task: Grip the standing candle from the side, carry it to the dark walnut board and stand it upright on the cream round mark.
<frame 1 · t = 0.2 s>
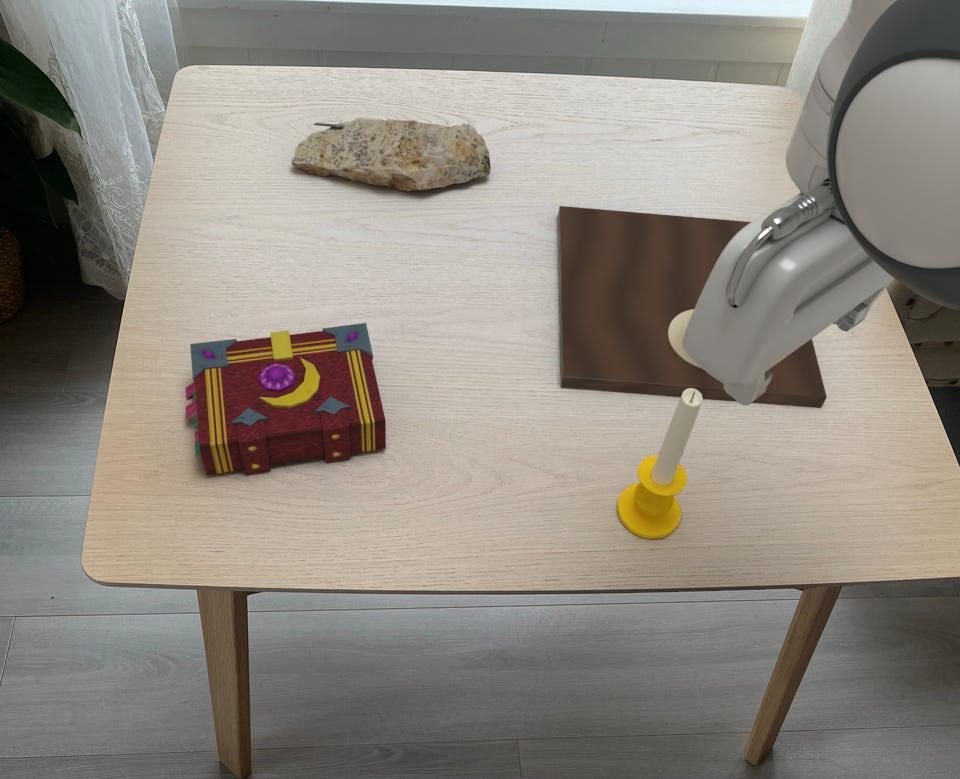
hand: (794, 355, 54), 27 cm above the table, tool pointing down, fingers open, 8 cm apart
board: (679, 304, 94), on the table
decorative book: (284, 417, 82), on the table
candle: (647, 513, 78), on the table
stone: (391, 171, 105), on the table
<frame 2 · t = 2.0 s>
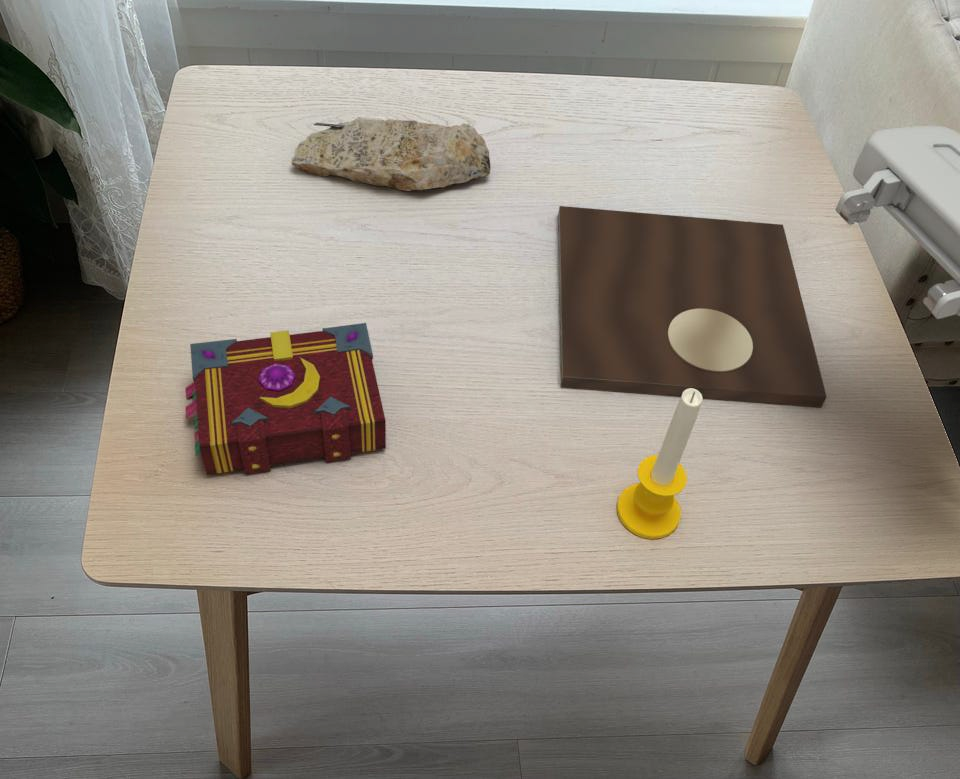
hand: (886, 254, 62), 25 cm above the table, tool horizontal, fingers open, 8 cm apart
nothing on the table moved.
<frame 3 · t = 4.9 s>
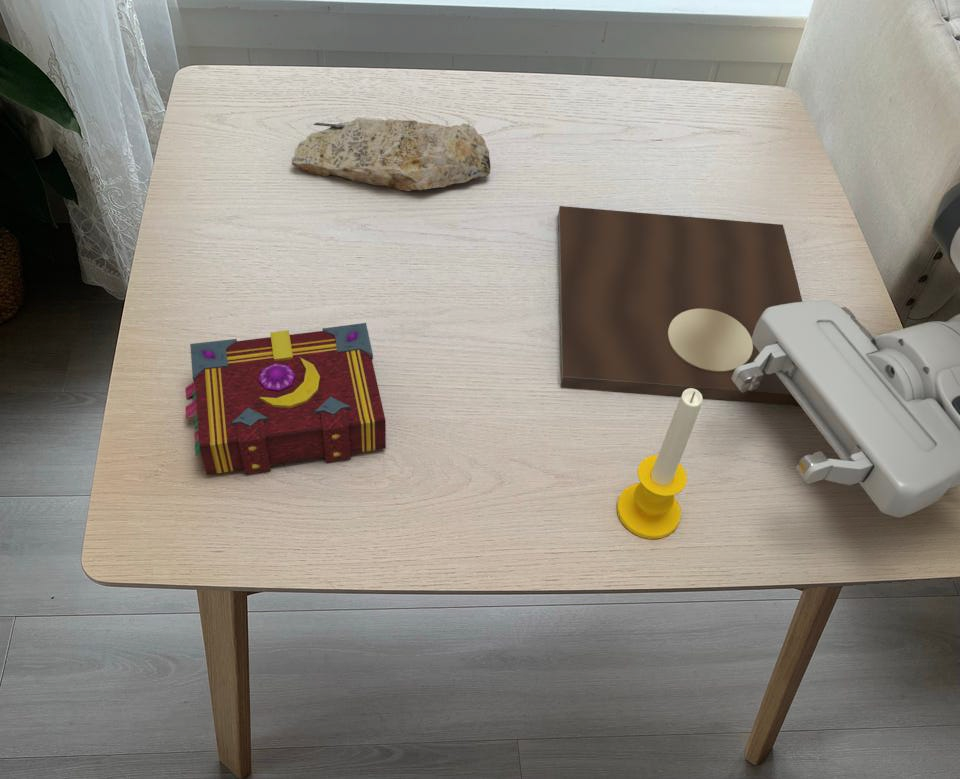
hand: (769, 423, 74), 8 cm above the table, tool horizontal, fingers open, 8 cm apart
nothing on the table moved.
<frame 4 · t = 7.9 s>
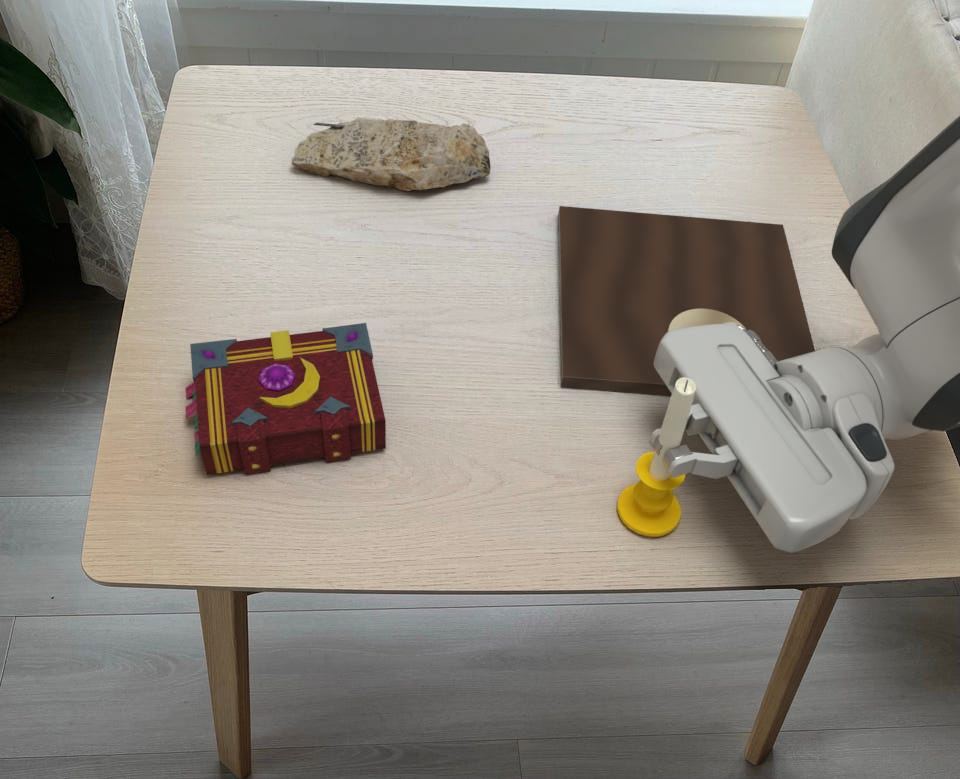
hand: (661, 454, 71), 9 cm above the table, tool horizontal, fingers closed on candle
candle: (648, 512, 78), on the table, touching gripper
everything else where it was.
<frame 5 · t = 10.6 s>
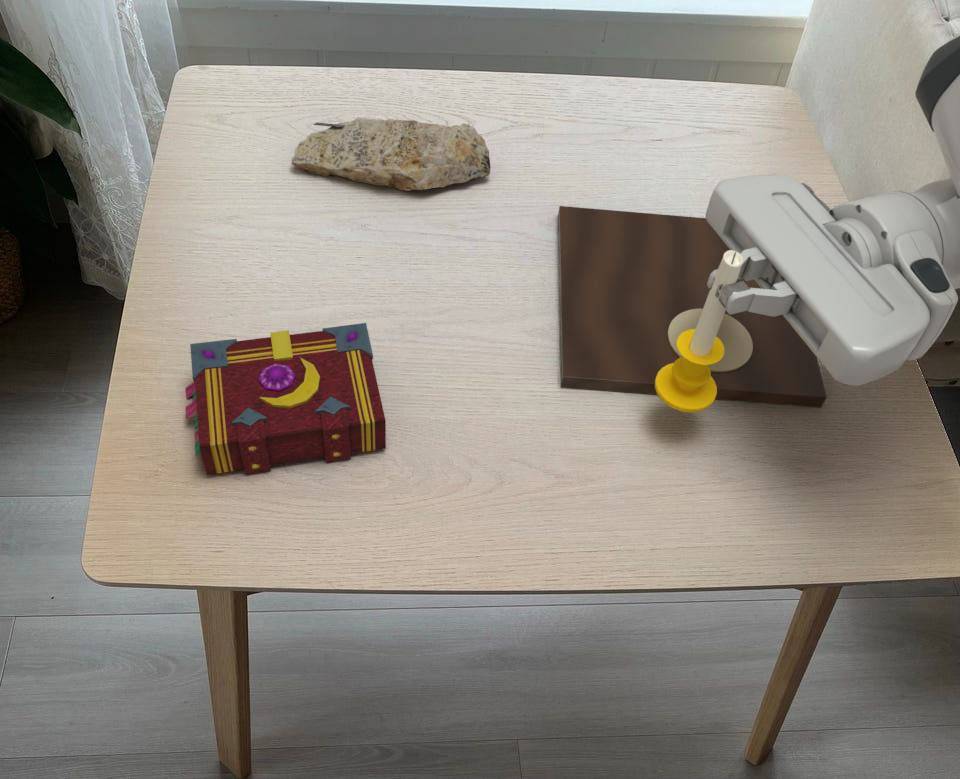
hand: (718, 293, 70), 17 cm above the table, tool horizontal, fingers closed on candle
candle: (684, 390, 81), point 5 cm above the table, touching gripper
everything else where it was.
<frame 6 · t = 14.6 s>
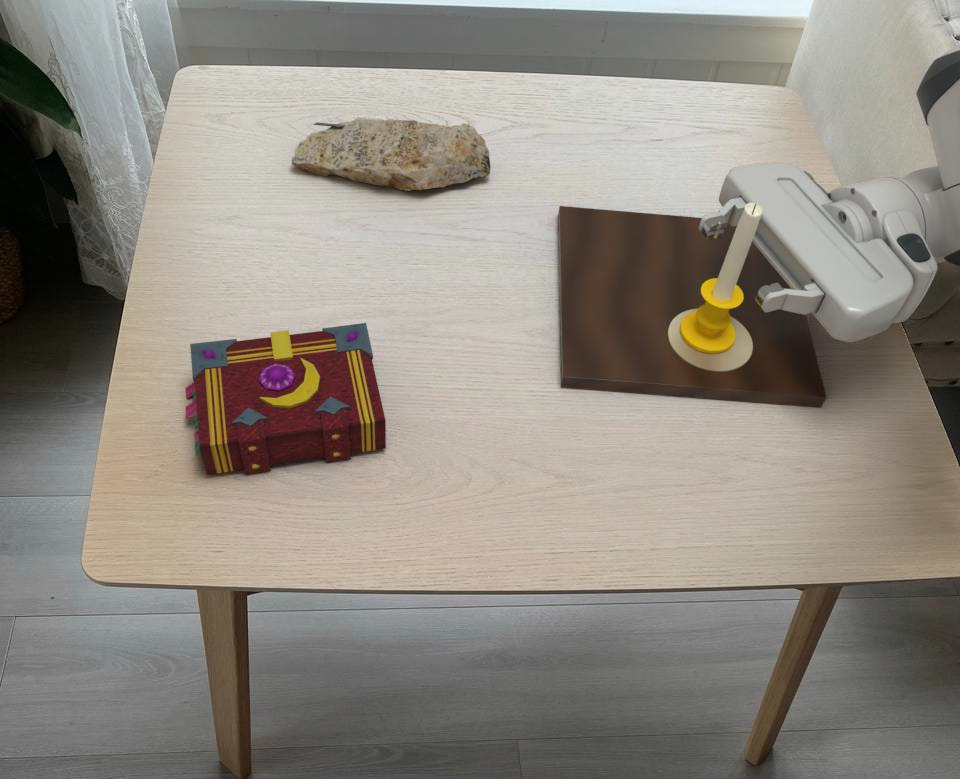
hand: (731, 263, 81), 12 cm above the table, tool horizontal, fingers open, 8 cm apart
candle: (706, 335, 90), point 2 cm above the table, touching board
everything else where it was.
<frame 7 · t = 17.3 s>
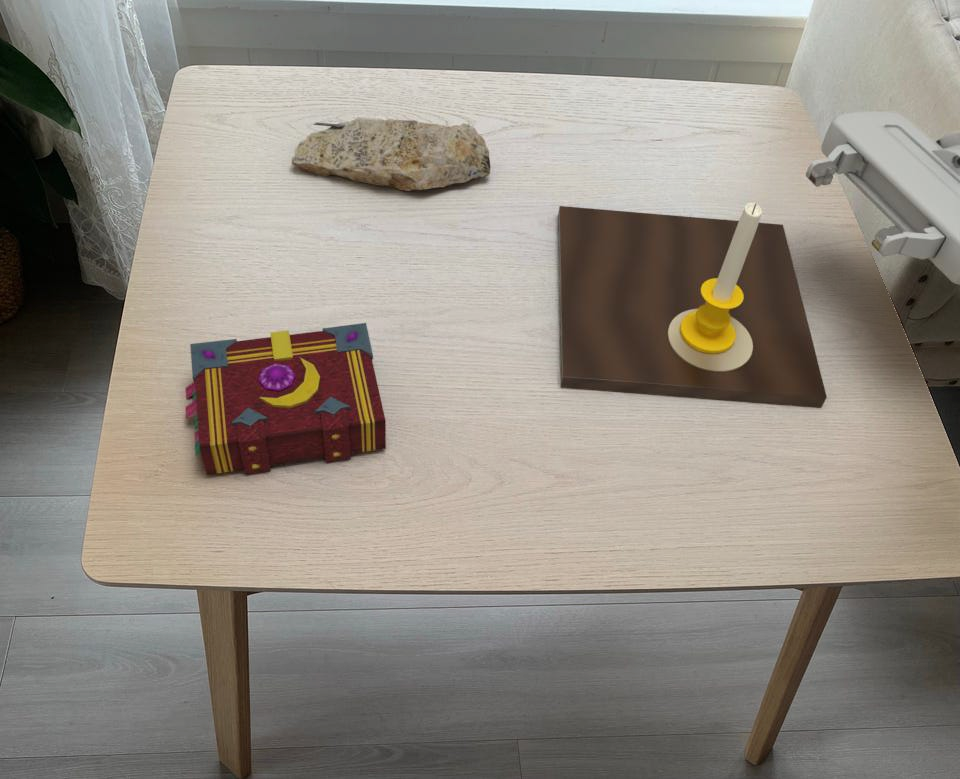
hand: (844, 207, 79), 17 cm above the table, tool horizontal, fingers open, 8 cm apart
nothing on the table moved.
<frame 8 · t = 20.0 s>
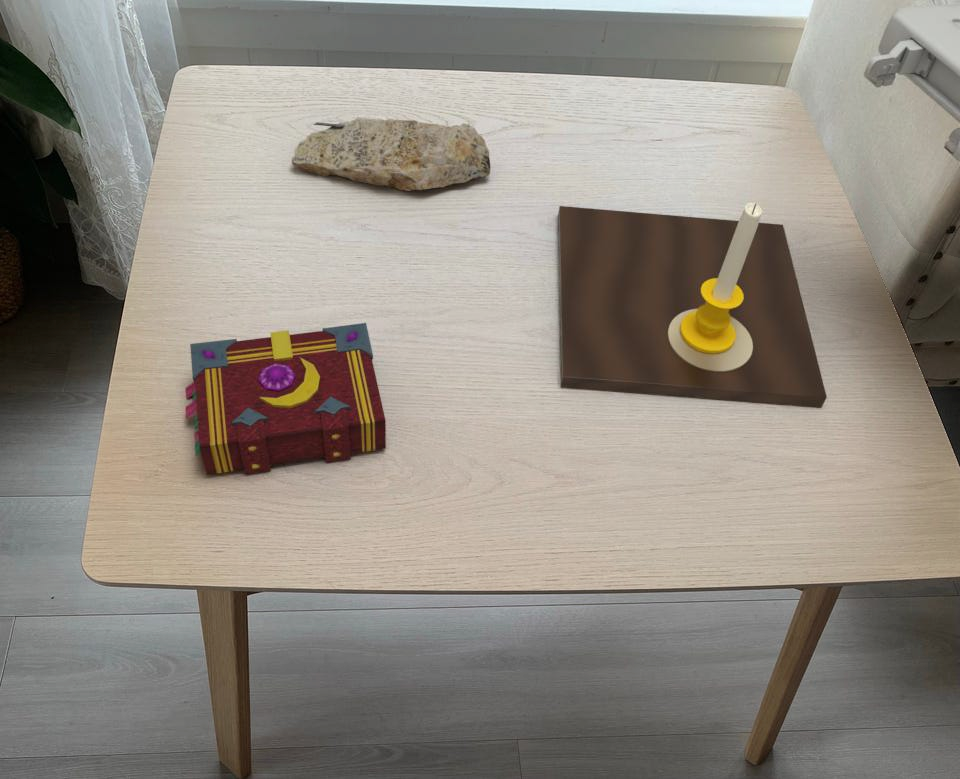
hand: (911, 107, 69), 28 cm above the table, tool horizontal, fingers open, 8 cm apart
nothing on the table moved.
at the end: candle inside the target area on the board (0.6 cm from its centre), point 1.5 cm above the board's base; candle tilted 0°; the gripper is holding nothing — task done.
